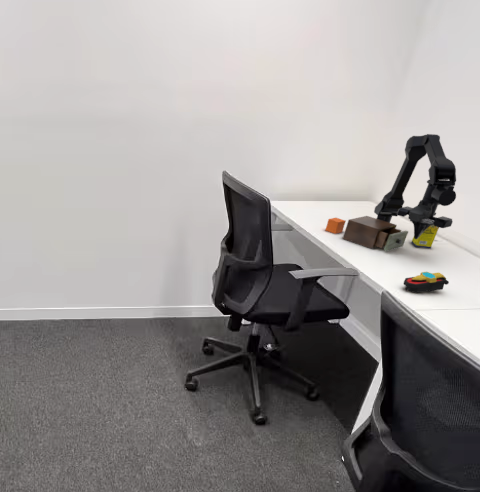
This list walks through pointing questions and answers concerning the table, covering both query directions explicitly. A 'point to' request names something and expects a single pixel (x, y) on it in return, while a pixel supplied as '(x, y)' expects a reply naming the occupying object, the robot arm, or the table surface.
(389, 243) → the drawer
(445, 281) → the gadget
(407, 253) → the table surface
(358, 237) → the cabinet
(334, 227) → the orange cube
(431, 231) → the supplement box
